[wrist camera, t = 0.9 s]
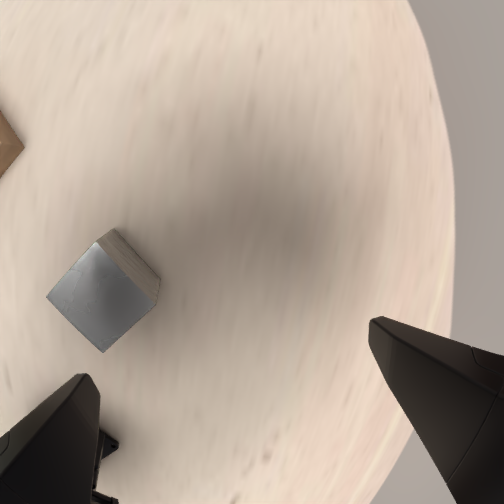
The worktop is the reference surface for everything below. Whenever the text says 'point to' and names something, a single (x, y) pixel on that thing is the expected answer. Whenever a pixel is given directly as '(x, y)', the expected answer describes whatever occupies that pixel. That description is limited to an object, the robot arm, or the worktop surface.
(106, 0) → the worktop surface
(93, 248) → the cube
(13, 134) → the base block
